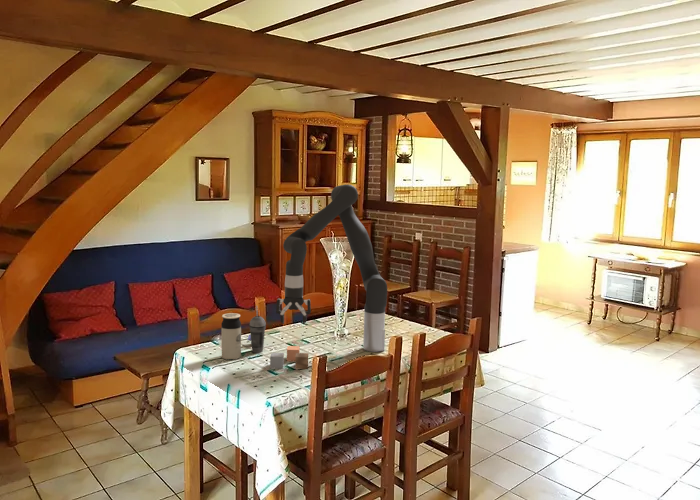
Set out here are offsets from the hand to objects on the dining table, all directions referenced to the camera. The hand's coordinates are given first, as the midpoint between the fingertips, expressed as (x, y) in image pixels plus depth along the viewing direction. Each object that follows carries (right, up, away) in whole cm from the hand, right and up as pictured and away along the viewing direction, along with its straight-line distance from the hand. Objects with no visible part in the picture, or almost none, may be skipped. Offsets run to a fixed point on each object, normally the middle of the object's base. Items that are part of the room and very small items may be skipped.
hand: (293, 323), depth 239 cm
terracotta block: (0, -15, +2) cm, 15 cm away
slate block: (-6, -17, -7) cm, 19 cm away
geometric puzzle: (-19, -12, +20) cm, 30 cm away
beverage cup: (-17, -14, +11) cm, 24 cm away
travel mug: (-26, -15, +3) cm, 30 cm away
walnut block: (+4, -17, -7) cm, 18 cm away
